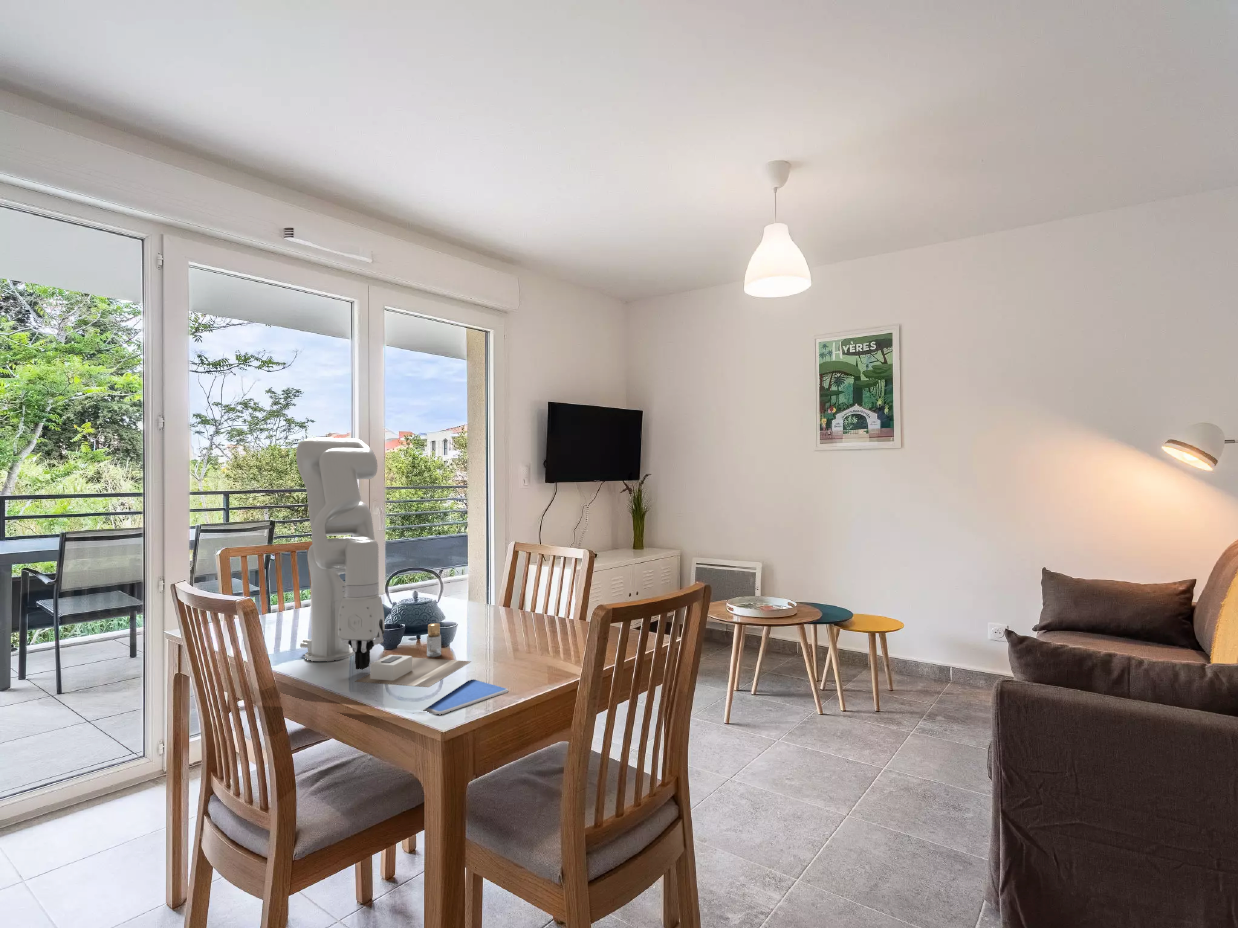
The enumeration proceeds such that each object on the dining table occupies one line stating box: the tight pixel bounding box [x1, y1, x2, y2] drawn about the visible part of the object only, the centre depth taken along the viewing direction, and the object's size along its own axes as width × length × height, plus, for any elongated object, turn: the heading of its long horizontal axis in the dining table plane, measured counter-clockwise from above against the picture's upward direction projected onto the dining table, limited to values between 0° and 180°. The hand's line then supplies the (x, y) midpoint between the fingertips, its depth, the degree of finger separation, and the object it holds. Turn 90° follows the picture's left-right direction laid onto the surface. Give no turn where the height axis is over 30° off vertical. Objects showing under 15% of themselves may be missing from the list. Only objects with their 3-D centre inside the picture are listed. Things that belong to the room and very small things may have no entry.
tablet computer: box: [423, 679, 509, 716], centre depth 145 cm, size 19×13×1 cm, turn 142°
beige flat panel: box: [354, 657, 472, 688], centre depth 160 cm, size 19×21×2 cm
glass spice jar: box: [426, 622, 442, 658], centre depth 175 cm, size 4×4×10 cm
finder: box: [369, 654, 413, 680], centre depth 158 cm, size 6×8×4 cm
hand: (362, 667), depth 159 cm, fingers closed
